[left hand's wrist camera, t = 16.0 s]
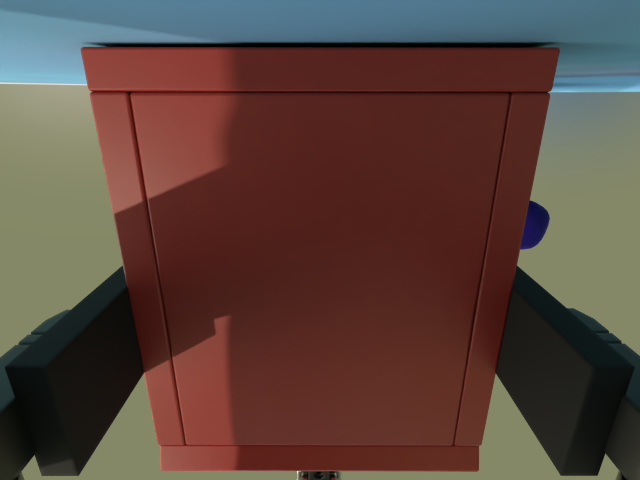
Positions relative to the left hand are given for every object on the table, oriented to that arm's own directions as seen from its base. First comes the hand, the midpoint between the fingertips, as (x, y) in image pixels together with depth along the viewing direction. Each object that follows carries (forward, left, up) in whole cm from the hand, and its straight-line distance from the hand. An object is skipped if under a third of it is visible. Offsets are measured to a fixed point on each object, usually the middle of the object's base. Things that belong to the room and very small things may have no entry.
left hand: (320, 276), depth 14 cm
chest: (-1, -5, -7) cm, 9 cm away
